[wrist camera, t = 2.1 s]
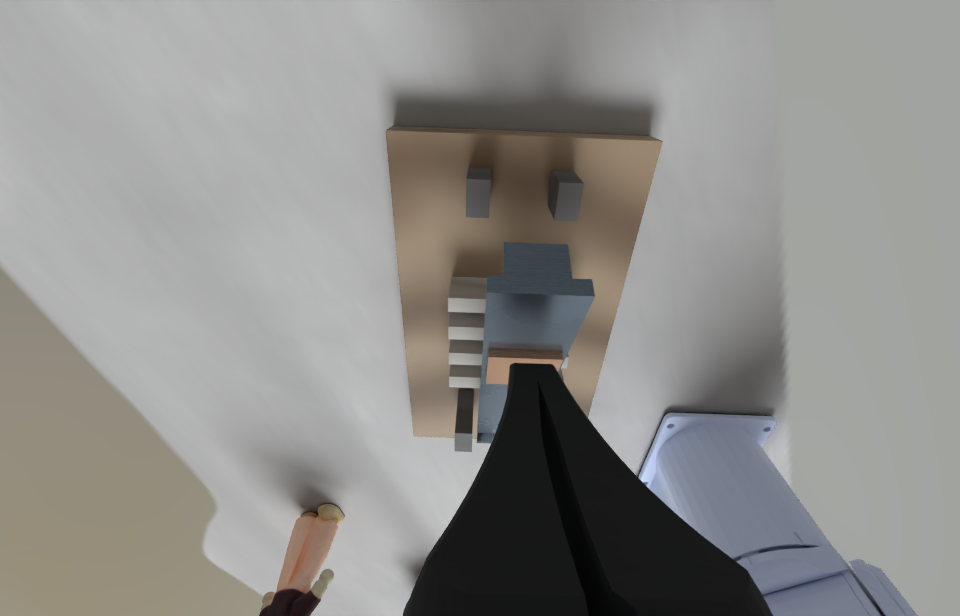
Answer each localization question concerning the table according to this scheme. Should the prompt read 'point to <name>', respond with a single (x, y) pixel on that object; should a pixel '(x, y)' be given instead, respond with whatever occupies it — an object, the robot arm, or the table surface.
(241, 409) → the table surface
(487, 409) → the bar
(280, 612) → the grandmother figurine
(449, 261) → the base
